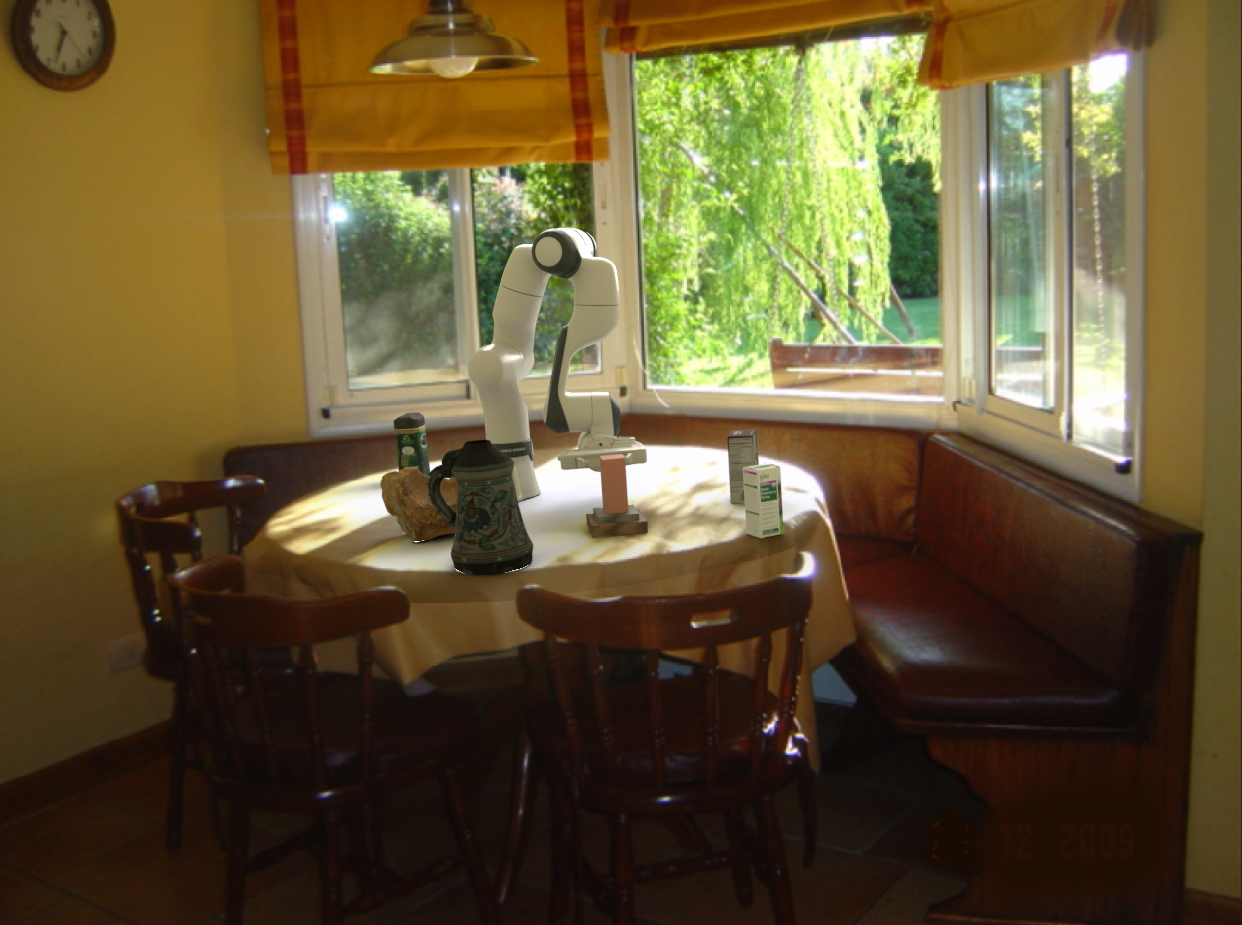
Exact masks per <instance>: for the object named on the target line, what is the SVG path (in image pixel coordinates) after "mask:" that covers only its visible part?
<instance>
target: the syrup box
mask: <svg viewBox="0 0 1242 925" xmlns="http://www.w3.org/2000/svg"><path fill="white" fill-rule="evenodd" d="M743 483H744V499H745V503H744V512H745V530H746V534H747V535H750V536H752V537H756V538H758V539H764V538H769V537H774V536H778V535H779V536H781V535H784V516H783V514H784V513H783V497H782V496H783V495H782V494H783V492H782V475H781V467H780V465H777V464H773V463H766V462H765V463H762V464H759V465H755V466H749V467H743Z"/></svg>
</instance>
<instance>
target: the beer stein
mask: <svg viewBox="0 0 1242 925" xmlns="http://www.w3.org/2000/svg"><path fill="white" fill-rule="evenodd" d="M440 461H441V462H440V463H441V464H439V465H437V466H435V467H434V468H433V469H432V470H430V473H429V475H428V477H429V478H428V481H427V492H428V496H429V499H430V501H431V503H432V505H433V507H434V508H435V509H436V511H437V512H438V513H439V514H440V515H441V516H442V517H443V518H444V519H445V520H446V521H447V522H448V523H449V524H450V525H452V526H453V527H455V528H456V530H455V534H454V539H453V542H452V547H451V550H450V559H451V562H452V563H453V566H454V569H455V568H456V569H457V570H459V571H461V572H463V573H465V574H468V575H467V576H475V577H476V576H477V577H479V576H480V577H482V576H484V577H485V576H499V575H505V574H504V573H505V572H509V571H512V570H516V569H520V568H523V567H525V566H527V565H529V564H531V565H532V563H531V562H533V560H532V559H533V552H534V543H533V541H532V539H531V538H530V534H528V531H527V528H526V525H525V523H524V519H523V516H522V513H521V508H520V504H519V501H518V499H517V496H516V491H515V487H514V483H513V478H512V472H513V470H514V461H513V460H512V459H511V458H510V457H509V456H508V455H506V454H505V453H503V452H502V451H500V450H498V449H497V448H496V447H495V446H494V445H492V444H491V441H490V440H486V439H478V440H476V439H475V440H468V441H465V442H464V444H463V446H462V447H461V448H458V449H453V450H452V449H451V450H448V451H447V452H445V453H444V456H443V457H442V458H441V460H440ZM451 477H455V478H456V479H457V505H456V512H455V511H454V510H453V509H452V508H451V507H450V506H449V505H448V504H447V503H446V501H445V500H444V498H443V497H442V495H441V493H440V484H441V481H442V480H443V479H444V478H445V479H450V478H451ZM529 566H530V565H529ZM527 567H528V566H527ZM525 568H526V567H525ZM465 574H464V575H465ZM469 574H470V575H469Z"/></svg>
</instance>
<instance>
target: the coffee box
mask: <svg viewBox="0 0 1242 925" xmlns="http://www.w3.org/2000/svg"><path fill="white" fill-rule="evenodd" d="M758 437H759V436H758V429H757V428H752V429H751V428H750V429H731V431H730V432H729V434H728V435H727V437H726V439H727V458H728V477H729V494H730V495H729V497H730V504H745V499H744V483H743V467H749V466H755V465H760V462H759V460H760V459H759V444H758V441H759V440H758Z"/></svg>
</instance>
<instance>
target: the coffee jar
mask: <svg viewBox="0 0 1242 925" xmlns="http://www.w3.org/2000/svg"><path fill="white" fill-rule="evenodd" d="M393 429H394V435H395V442H396V452H397V464H398V466H397V467H398V468H397V469H398V472H399V471H400V470H401V469H404V468H409V467H412V468H417V469H419V470H420V472H421V473H423V474H424V475H425V476H428V475H429V473H430V472H431V468H430V467H431V466H430V460H429V454H428V453H429V452H428V451H429V450H428V445H427V444H428V443H427V434H426V430H427V429H426V420H425V416H424V415H423V414H422V413H420V412H406V413H404V414H402V415H400V416H398V417H397V418H395V419H394V420H393ZM428 477H429V476H428Z"/></svg>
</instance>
